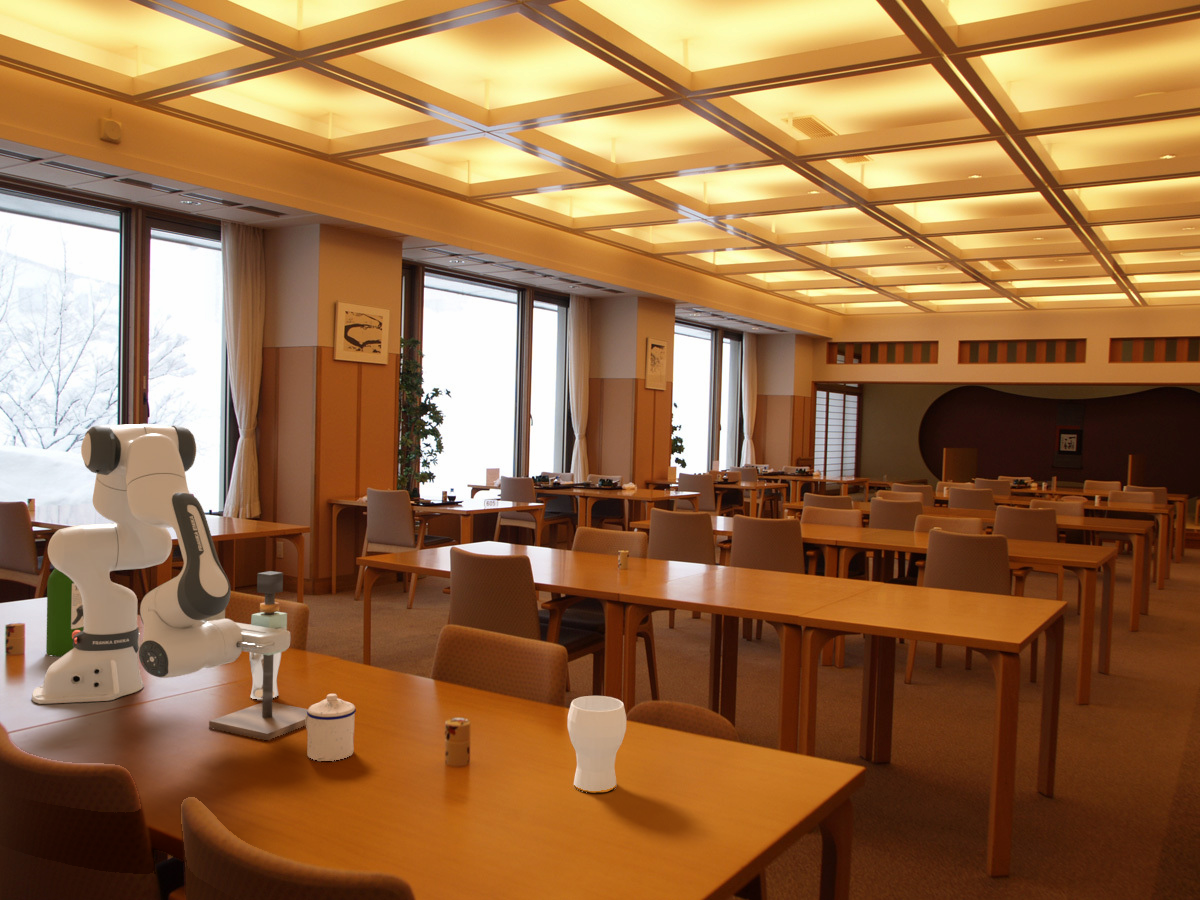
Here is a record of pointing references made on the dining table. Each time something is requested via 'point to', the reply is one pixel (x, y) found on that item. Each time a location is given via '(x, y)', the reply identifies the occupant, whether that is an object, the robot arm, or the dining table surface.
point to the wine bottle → (62, 613)
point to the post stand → (264, 686)
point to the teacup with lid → (330, 729)
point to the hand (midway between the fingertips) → (272, 629)
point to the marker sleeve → (270, 622)
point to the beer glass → (257, 674)
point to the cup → (596, 739)
